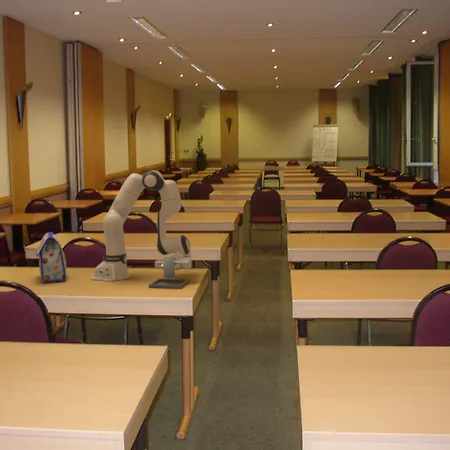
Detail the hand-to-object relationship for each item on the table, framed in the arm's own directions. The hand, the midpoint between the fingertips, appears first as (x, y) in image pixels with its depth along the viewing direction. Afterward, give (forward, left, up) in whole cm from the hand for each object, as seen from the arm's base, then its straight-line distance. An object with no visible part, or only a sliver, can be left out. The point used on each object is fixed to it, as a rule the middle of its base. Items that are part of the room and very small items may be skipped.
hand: (168, 267), depth 349 cm
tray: (0, +1, -10) cm, 10 cm away
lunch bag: (-75, +7, -11) cm, 76 cm away
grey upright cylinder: (0, +1, -5) cm, 6 cm away
